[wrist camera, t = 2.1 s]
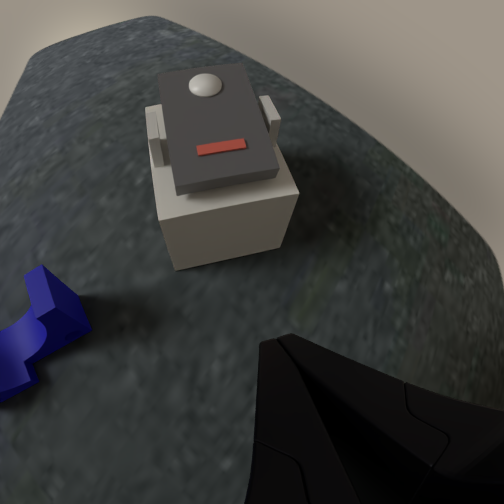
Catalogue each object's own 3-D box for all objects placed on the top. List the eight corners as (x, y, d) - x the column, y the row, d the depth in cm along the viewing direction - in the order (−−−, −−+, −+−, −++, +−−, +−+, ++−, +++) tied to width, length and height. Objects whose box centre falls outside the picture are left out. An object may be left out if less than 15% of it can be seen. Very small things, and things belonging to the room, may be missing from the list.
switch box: (279, 247, 24) (308, 166, 16) (175, 270, 23) (150, 194, 14) (245, 152, 28) (254, 65, 20) (157, 168, 27) (140, 81, 18)
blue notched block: (-7, 407, 16) (-56, 401, 11) (-23, 357, 18) (-69, 341, 12) (101, 348, 20) (64, 330, 15) (78, 296, 21) (42, 264, 16)
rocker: (275, 178, 18) (280, 166, 17) (176, 196, 17) (174, 185, 16) (240, 75, 20) (242, 61, 18) (158, 86, 18) (157, 72, 17)
